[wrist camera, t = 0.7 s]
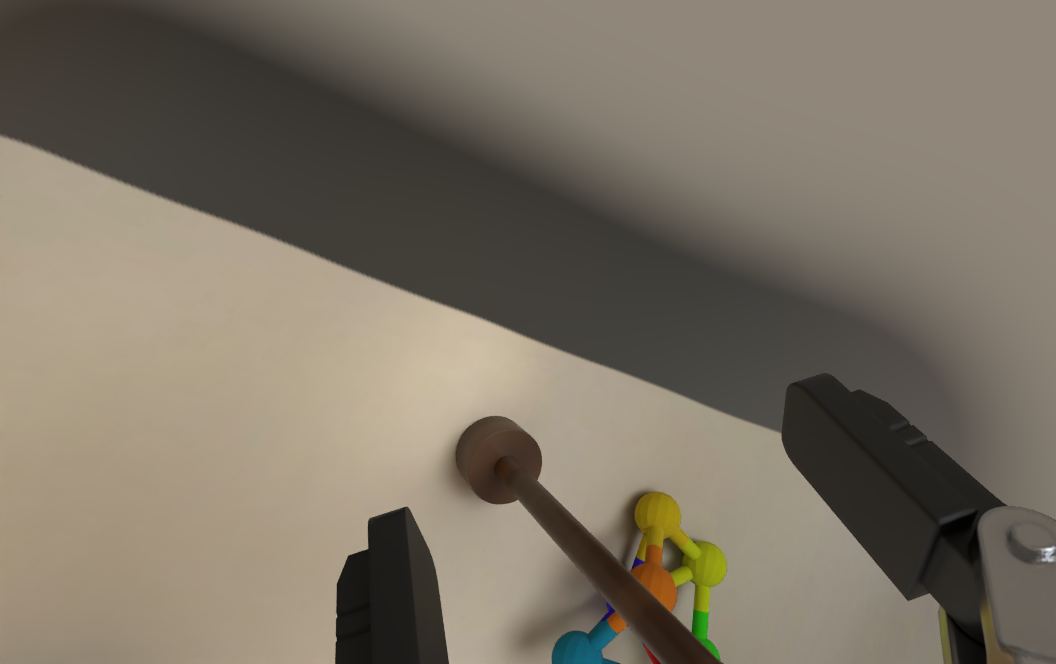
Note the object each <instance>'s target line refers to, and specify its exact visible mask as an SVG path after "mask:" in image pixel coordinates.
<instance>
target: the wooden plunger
mask: <svg viewBox="0 0 1056 664" xmlns="http://www.w3.org/2000/svg"><path fill="white" fill-rule="evenodd" d="M456 462H457V467H458V469H459V471H460V473H461V475H462V476H463V477H464V479H465V480H466V481H467V483H468V484H469V486H470V487H471V488H472V490H473V491H474V492H475V494H476V495H477V496H478V497H479V498H481V499H482V500H484V501H486V502H489V503H492V504H507V503H511V502H514V501H516V500H519V501H520V502H521V504H522V505H523V506H524V507H525V508H526V509H527V510H528V512H529V513H530V514H531V515H532V516H533V517H534V518H535V520H536V521H537V522H538V523H539V524H540V525H541V527H542V528H543V529H544V530H545V531H546V532H547V533H548V535H549V536H550V537H551V538H552V539H553V540H554V541H555V543H556V544H557V545H558V546H559V547H560V548H561V549H562V551H563V552H564V553H565V554H566V555H567V556H568V557H569V559H570V560H571V561H572V562H573V563H574V564H575V566H576V567H577V568H578V569H579V570H580V571H581V572H582V574H583V575H584V576H585V577H586V578H587V579H588V580H589V582H590V583H591V584H592V585H593V586H594V587H595V588H596V590H597V591H598V592H599V593H600V594H601V595H602V596H603V598H604V599H605V600H606V601H607V602H608V603H609V604H610V606H611V607H612V608H613V609H614V610H615V611H616V613H617V614H618V615H619V616H620V617H621V618H622V619H623V621H624V622H625V623H626V624H627V625H628V626H629V627H630V629H631V630H632V631H633V632H634V633H635V634H636V635H637V637H638V638H639V639H640V640H641V641H642V642H643V643H644V645H645V646H646V647H647V648H648V649H649V650H650V652H651V653H652V654H653V655H654V656H655V657H656V658H657V660H658V661H659V662H660V663H661V664H723V663H722V662H721V661H720V660H719V659H718V658H717V657H716V656H715V655H714V654H713V653H712V652H711V651H710V650H709V649H708V648H707V647H706V646H705V645H704V644H703V643H702V642H700V641H699V640H698V639H697V638H696V637H695V636H694V635H693V634H692V633H691V632H690V631H689V630H688V629H687V628H686V627H685V626H684V625H683V624H682V623H681V622H680V621H679V620H678V619H677V618H676V617H675V616H674V615H673V614H672V613H671V612H670V611H669V610H668V609H667V608H666V607H665V606H664V605H663V604H662V603H661V602H660V601H659V600H658V599H657V598H656V597H655V596H654V595H653V594H652V593H651V592H650V591H649V590H648V589H647V588H646V587H645V586H644V585H643V584H642V583H641V582H640V581H639V580H638V579H637V578H636V577H635V576H634V575H633V574H632V573H630V572H629V571H628V570H627V569H626V568H625V567H624V566H623V565H622V564H621V563H620V562H619V561H618V560H617V559H616V558H615V557H614V556H613V555H612V554H611V553H610V552H609V551H608V550H607V549H606V548H605V547H604V546H603V545H602V544H601V543H600V542H599V541H598V540H597V539H596V538H595V537H594V536H593V535H592V534H591V533H590V532H589V531H588V530H587V529H586V528H585V527H584V526H583V525H582V524H581V523H580V522H579V521H578V520H577V519H576V518H575V517H574V516H573V515H572V514H571V513H570V512H569V511H568V510H567V509H566V508H565V507H564V506H563V505H562V504H561V503H559V502H558V501H557V500H556V499H555V498H554V497H553V496H552V495H551V494H550V493H549V492H548V491H547V490H546V489H545V488H544V487H543V486H542V485H541V484H540V483H539V482H538V481H537V479H538V477H539V475H540V471H541V467H542V456H541V451H540V448H539V446H538V444H537V442H536V441H535V440H534V439H533V438H532V437H531V436H530V435H529V434H528V433H527V432H525V431H524V430H523V429H522V428H521V427H519V426H518V425H517V424H516V423H515V422H513V421H512V420H510V419H508V418H505V417H500V416H491V417H486V418H483V419H481V420H479V421H477V422H475V423H474V424H472V425H471V426H470V427H469V428H468V429H467V430H466V431H465V432H464V434H463V435H462V437H461V438H460V441H459V443H458V446H457V451H456Z"/></svg>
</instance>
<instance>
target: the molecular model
mask: <svg viewBox="0 0 1056 664" xmlns="http://www.w3.org/2000/svg"><path fill="white" fill-rule="evenodd" d="M635 521H636V524H637V526H638V527H639V529H640V530H641V531H642V532H643V536H642V539H641V542H640V545H639V548H638V551H637V554H636V557H635V560H634V563H633V566H632V569H631V571H630V573H632V574H633V575H634V576H635V577H636V578H637V579H638V580H639V581H640V582H641V583H642V584H643V585H644V586H645V587H646V588H647V589H648V590H649V591H650V592H651V593H652V594H653V595H654V596H655V597H656V598H657V599H658V600H659V601H660V602H661V603H662V604H663V605H664V606H665V607H666V608H667V609H668V610H669V611H670V612H672V610H673V608H674V607H675V604H676V601H677V589H676V587H677V586H679V585H681V584H683V583H685V582H687V581H689V580H691V581H692V582H693V583H694V584H695V597H694V610H693V622H692V634H693V635H694V636H695V637H696V638H697V639H698V640H699V641H700V642H702V643H703V644H704V645H705V646H706V647H707V648H708V649H709V650H710V651H711V652H712V653H713V654H714V655H715V656H716V657H717V658H718V659H719V660H720V656H719V653H718V650H717V649H716V647H715V646H714V644H713V643H712V642H711V641H709V640H708V639H707V628H708V614H709V600H710V587H713V586H716V585H718V584H719V583H720V582H721V581H722V580H723V579H724V577H725V575H726V571H727V563H726V558H725V556H724V554H723V552H722V551H721V550H720V549H719V548H718V547H717V546H716V545H714V544H712V543H710V542H705V541H700V542H695V543H694V542H693V541H692V540H691V539H690V538H689V537H688V536H687V535H686V534H685V533H684V532H683V531H682V530H681V529H680V527H679V526H680V523H681V514H680V509H679V506H678V504H677V503H676V501H675V500H674V499H673V498H672V497H671V496H669V495H667V494H665V493H662V492H651V493H648V494H646V495H644V496H643V497H642V498H641V499H640V500H639V501H638V503H637V506H636V509H635ZM668 537H669V538H670V539H671V540H672V541H673V542H674V543H675V544H676V545H677V546H678V547H679V548H680V549H681V551H682V552H683V553H684V555H683V560H682V565H683V566H682V567H680V568H678V569H675V570H673V571H671V572H668V571H667V570H666V569H664V568H663V567H661V563H662V551H663V539H665V538H668ZM606 603H607V608H608V611H609V612H608V613H607V614H606V615H605V616H604V617H603V618H602V619H601V620H600V622H599V623H598V624H597V625H596V626H595V627H594V628H593V629H592V630H591V631H590V632H589V634H587V633H585V632H582V631H571V632H567V633H566V634H564V635H562V636H561V637H560V638H559V639H558V641H557V642H556V644H555V646H554V649H553V652H552V664H620V663H617V662H614V661H611V660H608V659H605V658H603V655H602V652H601V650H602V649H603V648H604V647H605V646H606V645H607V644H608V643H609V642H610V641H611V640H613V639H614V638H615V637H616V636H617V635H618V634H619V633H620V632H621V631H622V630H623V629H624V628H625V627H626V626H628V625H627V624H626V623H625V622H624V621H623V619H622V618H621V617H620V616H619V615H618V614H617V613H616V611H615V610H614V609H613V608H612V607H611V606H610V604H609V603H608V602H607V601H606ZM628 627H629V626H628ZM642 643H643V642H642ZM643 645H644V643H643ZM644 647H645V649H646V651H647V653H648V655H649V656H650V658H651V660H652V662H653V664H661V663H660V662H659V661H658V660H657V658H656V657H655V656H654V655H653V654H652V653H651V652H650V650H649V649H648V648H647V647H646V646H645V645H644Z"/></svg>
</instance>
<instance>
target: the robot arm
mask: <svg viewBox="0 0 1056 664" xmlns="http://www.w3.org/2000/svg"><path fill="white" fill-rule="evenodd" d="M785 399H786V400H785V408H784V416H783V425H782V442H783V445H784V448H785V451H786V453H787V455H788V457H789V458H790V460H791V461H792V463H793V464H794V465H795V467H796V468H797V469H798V470H799V471H800V472H801V474H802V475H803V476H804V477H805V478H806V480H807V481H808V482H809V483H810V484H811V486H812V487H813V488H814V489H815V490H816V492H817V493H818V494H819V495H820V496H821V498H822V499H823V500H824V501H825V502H826V504H827V505H828V506H829V507H830V508H831V510H832V511H833V512H834V513H835V514H836V516H837V517H838V518H839V519H840V520H841V521H842V523H843V524H844V525H845V526H846V527H847V529H848V530H849V531H850V532H851V533H852V535H853V536H854V537H855V538H856V539H857V541H858V542H859V543H860V544H861V545H862V547H863V548H864V549H865V550H866V551H867V553H868V554H869V555H870V556H871V557H872V559H873V560H874V561H875V562H876V563H877V565H878V566H879V567H880V568H881V569H882V570H883V572H884V573H885V574H886V575H887V576H888V578H889V579H890V580H891V581H892V582H893V584H894V585H895V586H896V587H897V588H898V590H899V591H900V592H901V593H902V594H903V596H904V597H905V598H906V599H907V600H908V601H909V600H912V599H915V598H918V597H920V596H923V595H926V594H928V593H930V594H931V595H932V596H933V597H934V598H935V600H936V601H937V602H938V603H939V604H940V607H939V611H938V617H939V626H940V635H941V644H942V653H943V662H944V664H1056V520H1055V519H1053V518H1051V517H1049V516H1047V515H1045V514H1042V513H1040V512H1037V511H1034V510H1031V509H1027V508H1022V507H1015V506H1007V505H1006V504H1004V503H1002V502H1001V501H1000V500H999V499H998V498H996V497H995V496H994V495H993V494H992V493H991V492H989V491H988V490H987V489H986V488H985V487H984V486H983V485H981V484H980V483H979V482H978V481H977V480H976V479H974V478H973V477H972V476H971V475H970V474H969V473H967V472H966V471H965V470H964V469H963V468H962V467H961V466H960V465H958V464H957V463H956V462H955V461H954V460H952V458H950V457H949V456H948V455H947V454H946V453H944V451H942V450H941V449H940V448H939V447H938V446H937V445H935V444H934V443H933V442H932V441H928V440H927V437H926V436H925V435H924V434H923V433H922V432H921V431H919V430H918V429H917V428H916V427H915V426H914V425H912V426H911V425H910V424H909V421H908V420H907V419H906V418H905V417H903V416H902V415H901V414H900V413H899V412H898V411H897V410H895V409H894V408H893V407H892V406H891V405H890V404H888V403H887V402H885V401H883V400H881V399H879V398H877V397H875V396H872V395H870V394H868V393H866V392H864V391H862V390H856V391H854V392H850V391H849V390H848V389H847V388H846V387H845V386H843V385H842V384H841V383H840V382H839V381H838V380H837V379H836V378H835V377H833V376H832V375H830V374H827V373H823V374H820V375H816V376H813V377H810V378H807V379H804V380H801V381H798V382H795V383H792V384H790V385H789V386H788V387H787V391H786V398H785ZM368 548H369V549H367V550H364V551H361V552H358V553H355V554H352V555H349V556H348V558H347V560H346V563H345V565H344V568H343V570H342V573H341V575H340V578H339V580H338V583H337V606H336V613H337V618H336V637H337V642H336V657H335V664H449V661H448V653H447V646H446V639H445V631H444V624H443V617H442V609H441V602H440V595H439V587H438V580H437V575H436V570H435V566H434V562H433V559H432V556H431V553H430V550H429V548H428V546H427V544H426V542H425V540H424V538H423V536H422V534H421V532H420V530H419V527H418V525H417V523H416V521H415V519H414V517H413V515H412V513H411V511H410V509H409V508H408V507H407V506H406V507H403V508H400V509H397V510H394V511H391V512H388V513H385V514H381V515H378V516H375V517H372V518H370V519H369V521H368Z"/></svg>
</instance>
